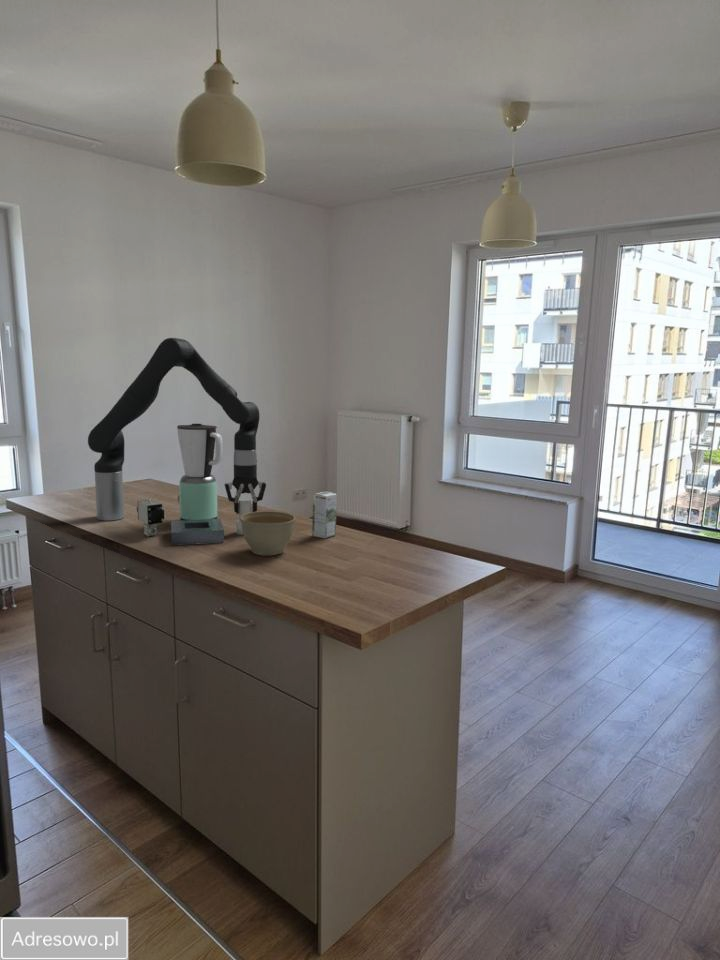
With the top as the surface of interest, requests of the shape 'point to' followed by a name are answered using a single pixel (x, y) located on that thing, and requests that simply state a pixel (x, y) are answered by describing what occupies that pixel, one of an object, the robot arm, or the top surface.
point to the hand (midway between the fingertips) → (245, 512)
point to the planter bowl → (267, 531)
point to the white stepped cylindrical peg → (243, 509)
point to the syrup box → (324, 514)
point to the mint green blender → (198, 471)
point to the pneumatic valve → (150, 515)
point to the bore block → (197, 531)
